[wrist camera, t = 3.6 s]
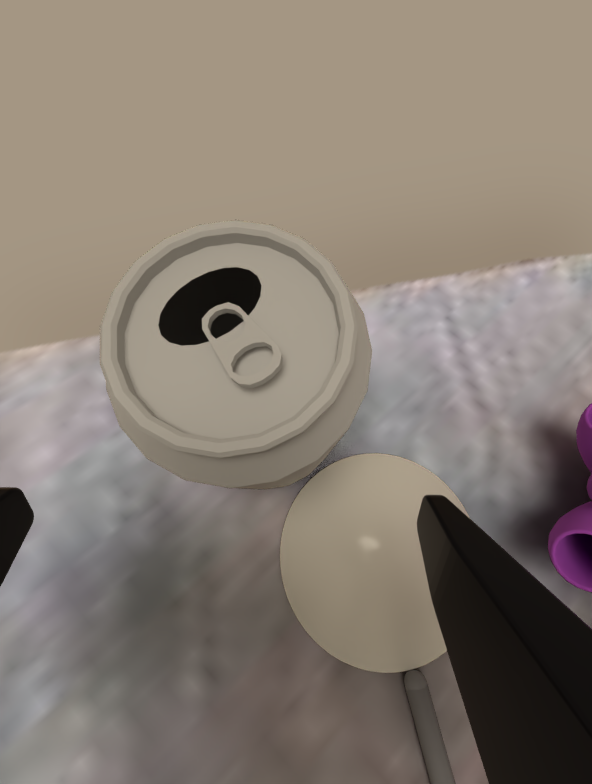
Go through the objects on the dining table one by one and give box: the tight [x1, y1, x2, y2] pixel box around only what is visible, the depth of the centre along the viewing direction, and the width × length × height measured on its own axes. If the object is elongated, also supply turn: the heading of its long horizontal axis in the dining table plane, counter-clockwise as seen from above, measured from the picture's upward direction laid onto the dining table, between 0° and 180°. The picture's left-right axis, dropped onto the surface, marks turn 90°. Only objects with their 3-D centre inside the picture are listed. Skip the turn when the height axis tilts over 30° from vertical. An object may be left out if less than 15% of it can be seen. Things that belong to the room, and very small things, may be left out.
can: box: [100, 220, 372, 489], centre depth 14 cm, size 8×8×12 cm
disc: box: [280, 453, 470, 673], centre depth 18 cm, size 10×10×1 cm
